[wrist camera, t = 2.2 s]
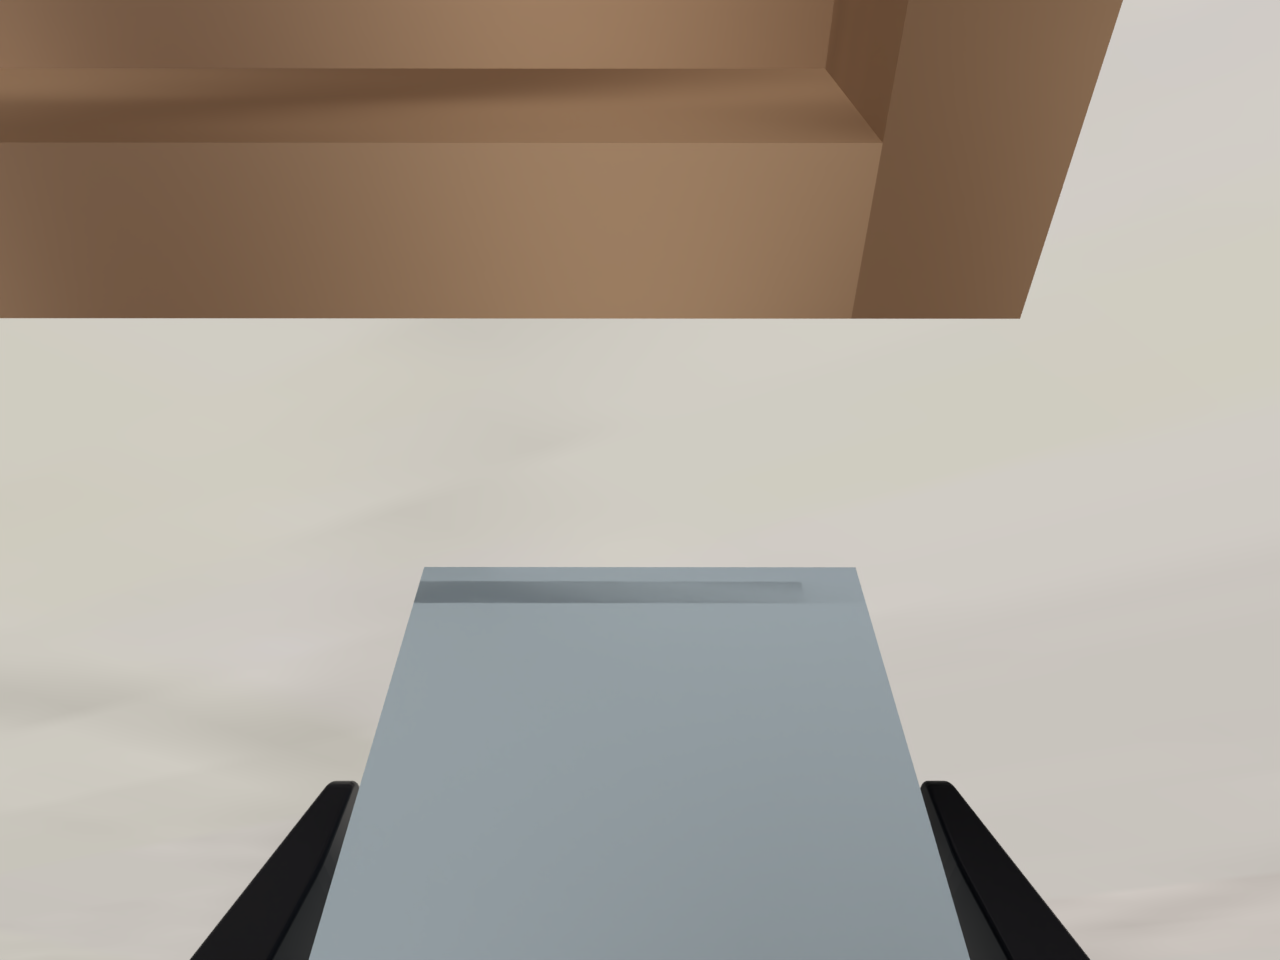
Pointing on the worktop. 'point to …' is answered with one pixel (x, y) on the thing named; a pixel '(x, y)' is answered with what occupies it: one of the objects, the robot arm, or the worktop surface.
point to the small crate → (639, 777)
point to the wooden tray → (536, 156)
